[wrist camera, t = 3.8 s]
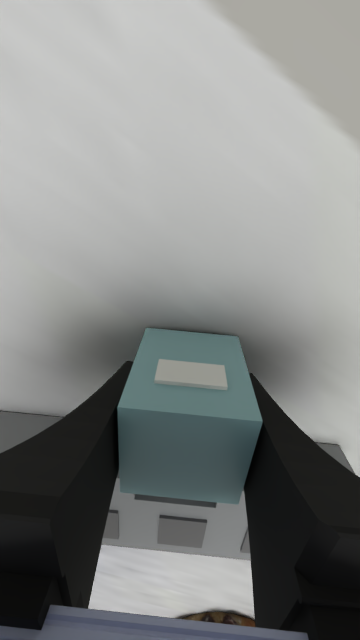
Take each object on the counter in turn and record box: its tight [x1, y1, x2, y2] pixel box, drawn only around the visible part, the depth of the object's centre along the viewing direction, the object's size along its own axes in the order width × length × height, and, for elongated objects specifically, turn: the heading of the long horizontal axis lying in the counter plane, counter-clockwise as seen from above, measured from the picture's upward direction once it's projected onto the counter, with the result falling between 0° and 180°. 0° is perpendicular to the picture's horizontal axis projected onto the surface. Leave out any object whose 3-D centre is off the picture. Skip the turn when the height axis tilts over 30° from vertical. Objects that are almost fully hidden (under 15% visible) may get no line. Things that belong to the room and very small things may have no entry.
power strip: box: [0, 411, 355, 560], centre depth 15 cm, size 6×28×4 cm, turn 85°
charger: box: [117, 328, 263, 505], centre depth 11 cm, size 6×4×5 cm
